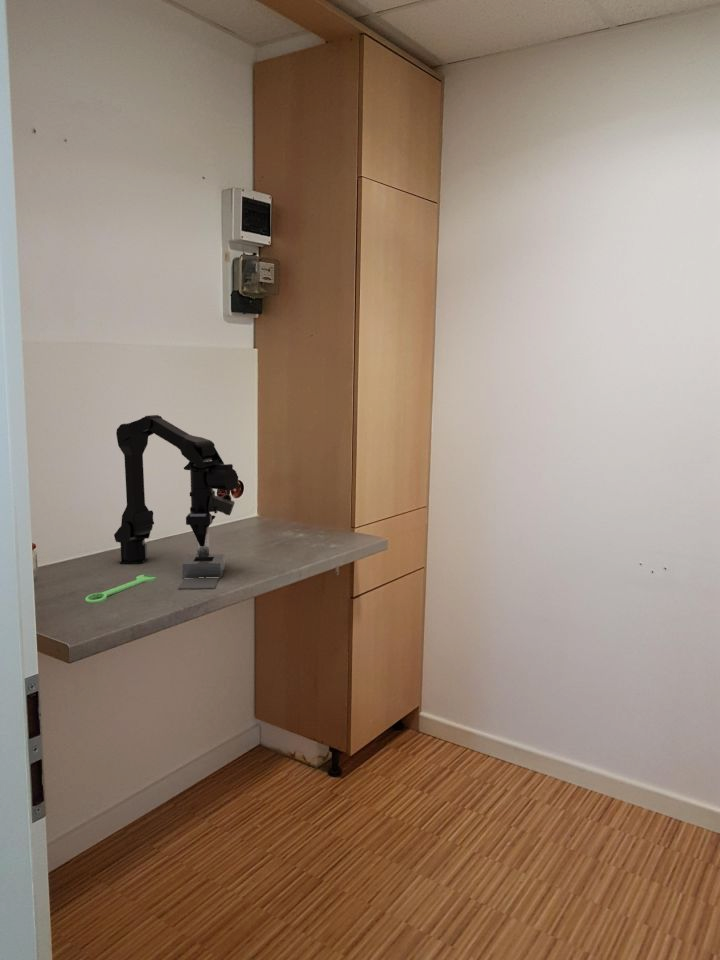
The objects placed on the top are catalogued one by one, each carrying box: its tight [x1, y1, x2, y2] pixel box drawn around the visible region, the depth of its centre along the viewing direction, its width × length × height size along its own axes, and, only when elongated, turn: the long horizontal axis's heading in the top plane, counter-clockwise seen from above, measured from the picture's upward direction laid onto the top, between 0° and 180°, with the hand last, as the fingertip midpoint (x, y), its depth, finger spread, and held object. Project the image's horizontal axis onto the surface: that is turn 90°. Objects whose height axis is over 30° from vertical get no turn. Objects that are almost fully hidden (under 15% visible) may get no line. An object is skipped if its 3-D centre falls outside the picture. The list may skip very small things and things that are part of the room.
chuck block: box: [181, 553, 226, 579], centre depth 215 cm, size 10×10×4 cm
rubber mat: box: [178, 578, 219, 590], centre depth 204 cm, size 9×9×1 cm
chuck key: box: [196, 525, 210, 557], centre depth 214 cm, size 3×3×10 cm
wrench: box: [84, 574, 157, 604], centre depth 200 cm, size 25×2×5 cm
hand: (203, 544), depth 214 cm, fingers closed on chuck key, 3 cm apart
